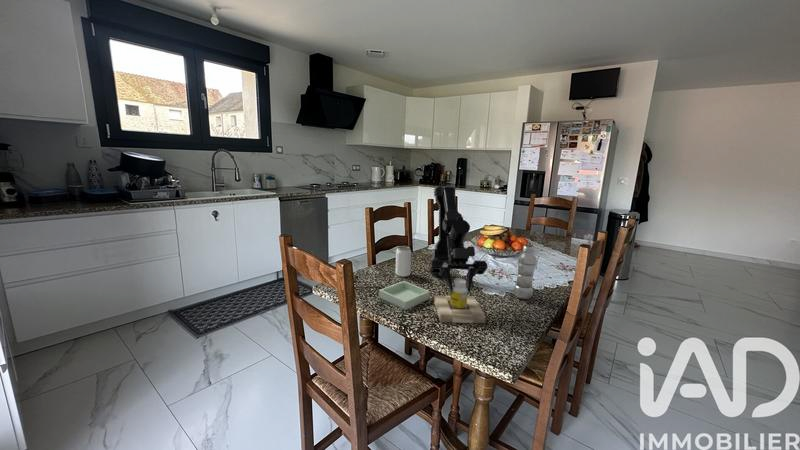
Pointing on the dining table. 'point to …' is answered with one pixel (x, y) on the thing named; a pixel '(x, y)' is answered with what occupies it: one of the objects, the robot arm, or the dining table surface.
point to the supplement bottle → (459, 294)
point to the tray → (404, 295)
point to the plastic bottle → (525, 273)
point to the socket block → (459, 311)
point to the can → (403, 261)
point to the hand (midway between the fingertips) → (460, 291)
